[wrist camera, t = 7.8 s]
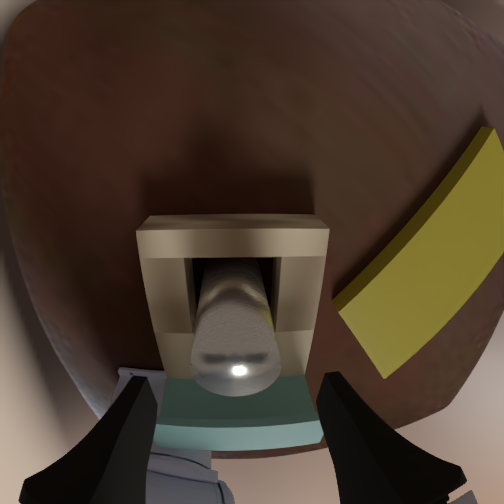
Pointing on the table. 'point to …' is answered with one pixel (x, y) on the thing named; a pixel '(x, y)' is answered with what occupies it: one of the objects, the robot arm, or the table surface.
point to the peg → (234, 330)
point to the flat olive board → (431, 260)
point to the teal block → (237, 417)
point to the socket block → (233, 245)
